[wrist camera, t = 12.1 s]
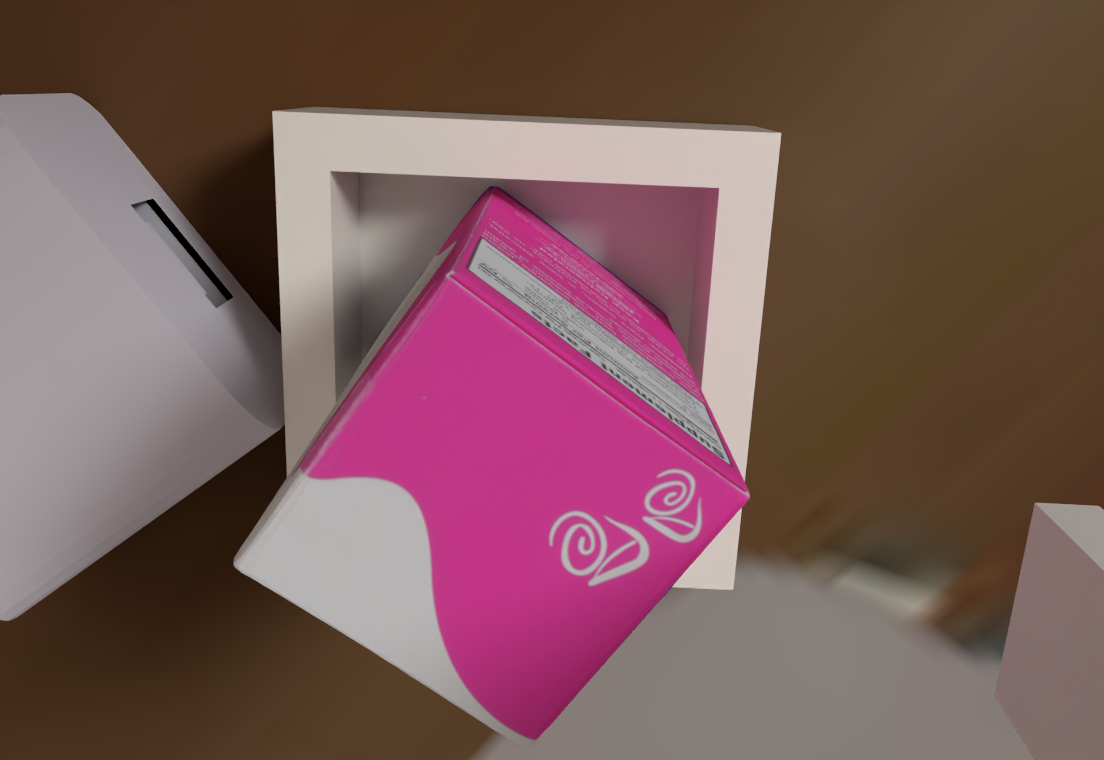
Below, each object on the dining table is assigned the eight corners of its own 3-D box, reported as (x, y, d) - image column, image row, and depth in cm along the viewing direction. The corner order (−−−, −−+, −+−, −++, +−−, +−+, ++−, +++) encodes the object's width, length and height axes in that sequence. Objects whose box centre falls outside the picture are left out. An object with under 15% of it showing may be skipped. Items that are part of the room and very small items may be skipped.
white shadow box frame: (315, 107, 24) (272, 111, 21) (752, 125, 24) (781, 133, 21) (326, 508, 28) (290, 568, 24) (713, 525, 27) (733, 590, 24)
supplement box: (543, 485, 27) (520, 770, 16) (361, 356, 26) (201, 561, 15) (680, 318, 25) (762, 502, 14) (493, 175, 24) (425, 253, 13)
